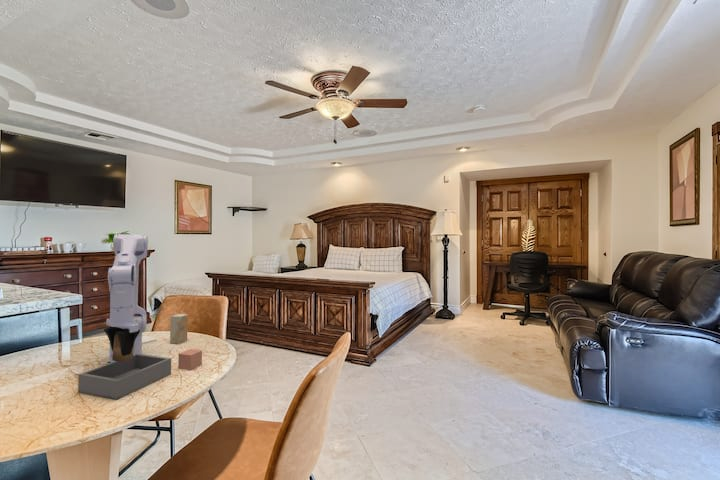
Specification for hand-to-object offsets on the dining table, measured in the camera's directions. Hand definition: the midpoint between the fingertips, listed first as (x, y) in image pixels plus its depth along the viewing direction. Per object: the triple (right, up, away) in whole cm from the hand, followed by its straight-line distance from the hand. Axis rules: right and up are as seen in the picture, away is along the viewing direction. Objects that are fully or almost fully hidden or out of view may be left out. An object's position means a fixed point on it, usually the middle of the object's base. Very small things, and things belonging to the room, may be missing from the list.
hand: (121, 352), depth 100 cm
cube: (+13, -10, +15) cm, 22 cm away
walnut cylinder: (0, -2, 0) cm, 2 cm away
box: (-5, -9, +41) cm, 42 cm away
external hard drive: (-21, -10, +39) cm, 45 cm away
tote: (0, -10, +2) cm, 10 cm away
